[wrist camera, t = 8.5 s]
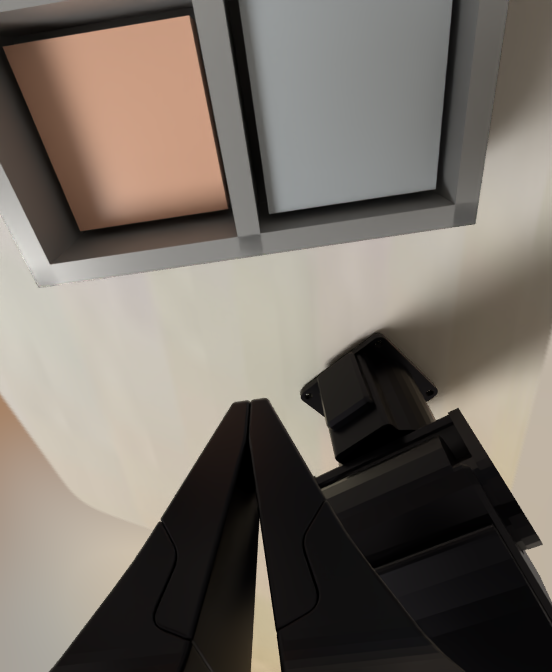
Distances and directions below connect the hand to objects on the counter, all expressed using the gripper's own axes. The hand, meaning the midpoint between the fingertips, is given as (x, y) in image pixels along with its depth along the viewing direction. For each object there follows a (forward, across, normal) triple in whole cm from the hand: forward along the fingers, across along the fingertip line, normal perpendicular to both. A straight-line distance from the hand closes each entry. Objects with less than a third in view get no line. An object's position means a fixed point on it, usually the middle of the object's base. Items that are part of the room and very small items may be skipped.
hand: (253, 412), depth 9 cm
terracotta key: (+10, +4, -6) cm, 12 cm away
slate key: (+9, -4, -6) cm, 11 cm away
